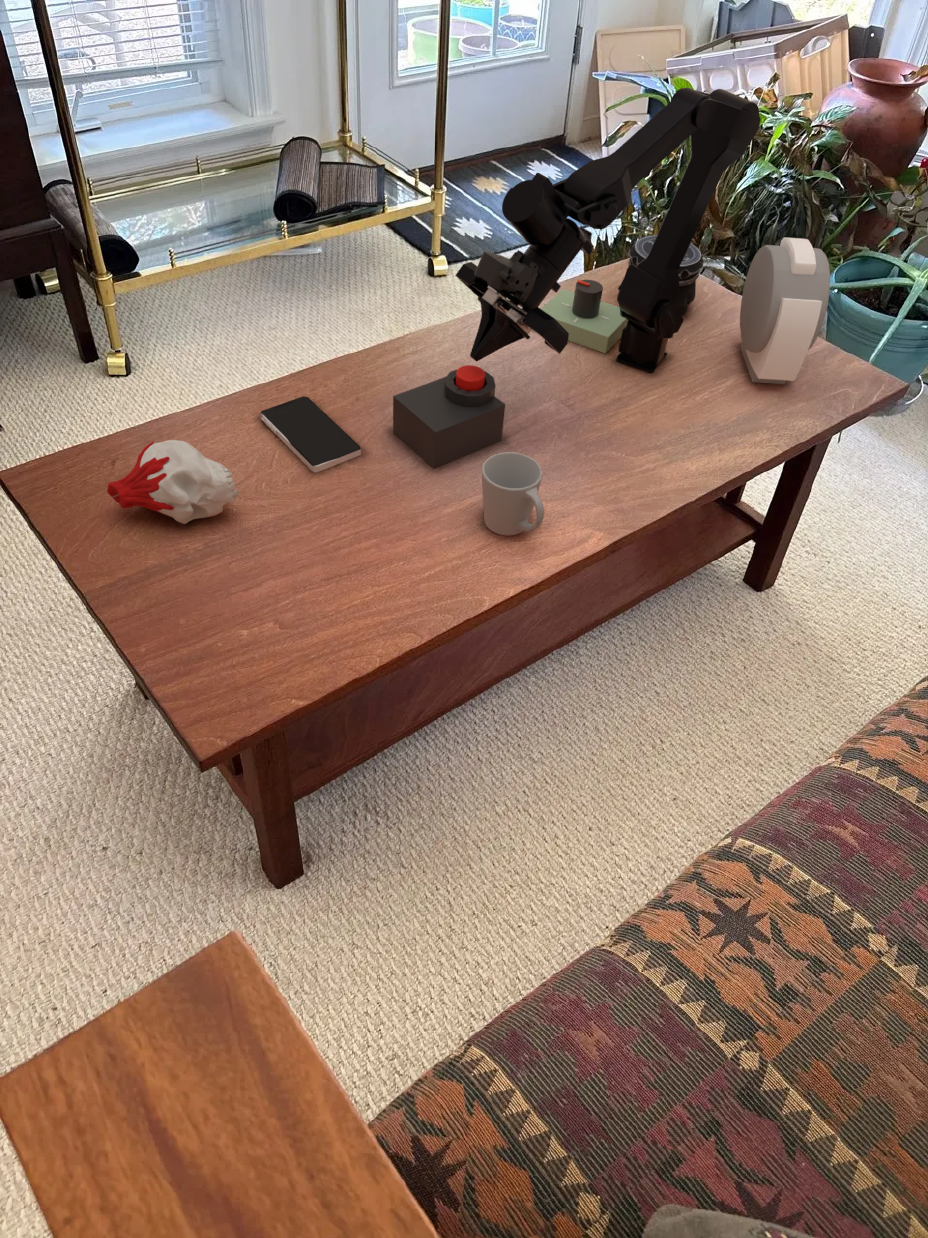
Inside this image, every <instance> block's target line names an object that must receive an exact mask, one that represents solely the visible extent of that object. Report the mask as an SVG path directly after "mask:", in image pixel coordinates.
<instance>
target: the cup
mask: <svg viewBox="0 0 928 1238" xmlns="http://www.w3.org/2000/svg"><path fill="white" fill-rule="evenodd" d="M542 479H543V469H542V467H541V465H540V464H539V462H537V460H535V459H534V458H532V457H531V456H529V455H527V454H523V453H520V452H514V451H505V452H499V453H495V454H492V455H490V456H489V457H488V458H487V459H485V461H484V462H483V464H482V466H481V489H482V490H481V491H482V504H483V505H482V506H483V518H484V524H485V526H486V527H487V529H489V530H490V531H492V533H495V534H497V535H502V536H510V537H511V536H515V535H518V534H521V533H523V532H524V533H529V532H530V533H531V532H534V531H535V530H537V529H539V528H540V526H541V525H542V524H543V522H544V517H545V507H544V506H545V505H544V502H543V500H542V498H541V496H540V495H539V490H540V486H541V483H542ZM534 508H535V513H536V514H535V515H536V517H535V522H534V523H530V522H529V521H530V520H531V519H530V518H531V515H532V513H533V509H534Z"/></svg>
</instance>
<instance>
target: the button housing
mask: <svg viewBox="0 0 928 1238" xmlns="http://www.w3.org/2000/svg"><path fill="white" fill-rule="evenodd" d="M457 370H458V368H457V369H455V370H454V369H453V370H452V371H449V373H447V375H446V376H444V377H442V378H439V379H436V380H433V381H430V382H428V383H425V384H422V385H419V386H417V387H414V388H411V389H408V390H405V391H403V392H400V393H397V394H395V395H392V400H393V401H392V433H393V434H394V435H395V436H396V437H397V438H398V439H399V440H400V441H401V442H403V443H404V444H405V445H406V446H407V447H408V448H410V450H411V451H413V452H414V453H415V454H416V455H417V456H418V457H419V458H421V459H422V460H423V461H424V462H425V463H426V464H427V465H428V466H430V467H431V469H433V470H435V469H437V468H441V467H444V466H445V465H447V464H450V463H452V462H455V461H457V460H459V459H462V458H464V457H467V456H469V455H471V454H474V453H476V452H478V451H481V450H483V449H486V448H488V447H490V446H491V447H492V446H493V445H495V444H498V443H499V442H502V439H503V429H504V422H505V411H506V404H505V403H504V402H503V401H502V400H500V399H499V398H498V397H497V396H496V381H495V377H494V376H493V375H491V374H490V373H489V372H487V371H486V370H484V372H485V383H484V387H483V388H482V389H480V390H477V391H466V390H463V389H460V388H458V387H457V386H456V371H457Z"/></svg>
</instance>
